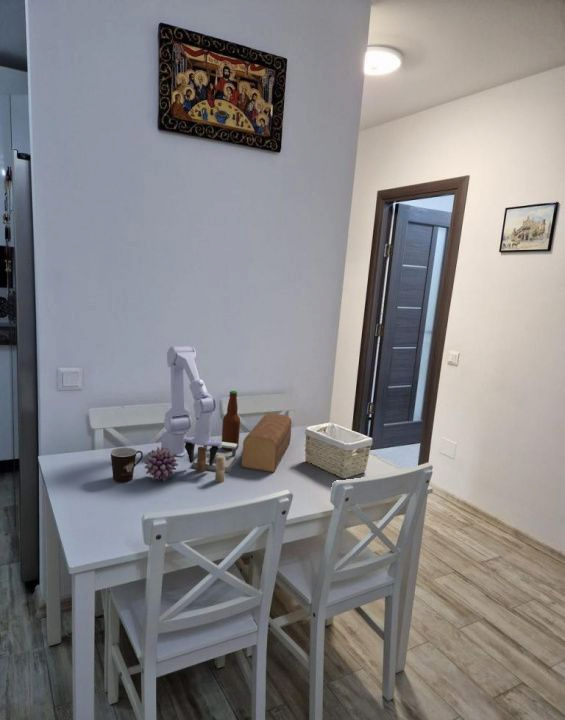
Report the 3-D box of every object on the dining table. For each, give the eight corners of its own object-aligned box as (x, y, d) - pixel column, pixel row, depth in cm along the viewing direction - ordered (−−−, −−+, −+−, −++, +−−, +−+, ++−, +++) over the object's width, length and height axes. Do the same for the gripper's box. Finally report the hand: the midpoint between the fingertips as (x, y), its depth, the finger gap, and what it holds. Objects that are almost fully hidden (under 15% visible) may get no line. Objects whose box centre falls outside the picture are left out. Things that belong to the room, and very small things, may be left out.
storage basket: (300, 460, 200) (303, 426, 197) (327, 453, 211) (330, 421, 208) (343, 481, 182) (347, 444, 180) (370, 473, 193) (374, 438, 190)
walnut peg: (195, 471, 180) (196, 448, 178) (198, 468, 183) (199, 446, 181) (203, 472, 179) (204, 450, 178) (206, 469, 183) (207, 447, 181)
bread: (290, 444, 218) (293, 414, 215) (275, 473, 185) (278, 438, 182) (260, 440, 220) (263, 410, 218) (239, 468, 187) (242, 433, 185)
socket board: (192, 467, 184) (193, 450, 183) (203, 455, 196) (204, 439, 195) (228, 472, 182) (229, 455, 181) (236, 459, 195) (237, 443, 193)
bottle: (237, 445, 211) (241, 389, 207) (238, 451, 204) (242, 394, 200) (221, 444, 210) (224, 388, 206) (221, 450, 203) (225, 393, 199)
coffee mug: (111, 485, 163) (112, 457, 161) (108, 475, 171) (108, 448, 169) (146, 481, 169) (147, 454, 167) (141, 471, 176) (142, 445, 174)
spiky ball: (175, 487, 166) (176, 454, 164) (139, 485, 165) (140, 452, 163) (179, 473, 177) (181, 442, 175) (146, 471, 176) (147, 441, 174)
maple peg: (214, 481, 173) (215, 458, 171) (216, 478, 176) (218, 454, 174) (222, 483, 172) (224, 459, 171) (225, 479, 176) (226, 456, 174)
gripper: (180, 429, 175) (179, 464, 178) (219, 434, 173) (216, 470, 176) (187, 423, 182) (185, 457, 185) (224, 428, 180) (222, 463, 183)
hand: (201, 463), depth 181 cm, fingers open, 7 cm apart
